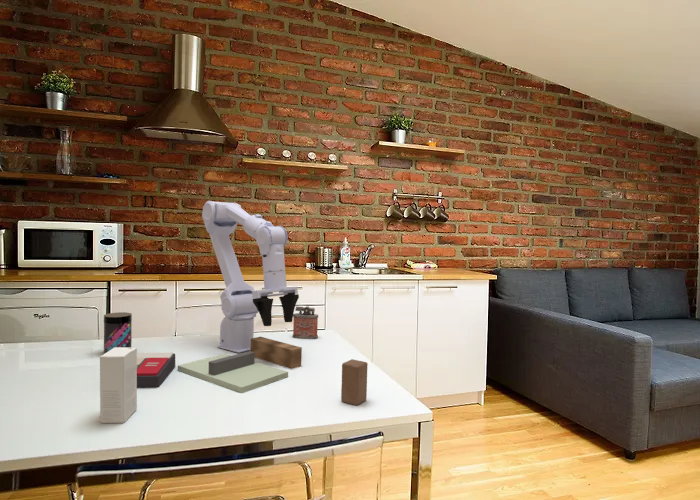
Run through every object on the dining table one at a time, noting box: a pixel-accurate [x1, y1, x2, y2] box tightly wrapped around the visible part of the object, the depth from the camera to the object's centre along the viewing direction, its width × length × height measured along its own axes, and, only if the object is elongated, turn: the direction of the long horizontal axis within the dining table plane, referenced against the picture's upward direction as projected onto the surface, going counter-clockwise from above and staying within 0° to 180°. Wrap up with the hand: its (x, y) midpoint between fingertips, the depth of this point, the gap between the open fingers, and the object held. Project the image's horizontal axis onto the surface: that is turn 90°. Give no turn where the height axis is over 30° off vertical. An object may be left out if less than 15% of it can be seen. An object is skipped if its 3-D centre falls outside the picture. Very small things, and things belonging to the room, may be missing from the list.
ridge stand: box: [177, 350, 289, 394], centre depth 109 cm, size 23×14×4 cm, turn 54°
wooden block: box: [340, 359, 369, 406], centre depth 94 cm, size 4×4×8 cm
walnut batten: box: [249, 336, 303, 370], centre depth 120 cm, size 16×3×5 cm, turn 51°
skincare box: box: [99, 347, 138, 424], centre depth 83 cm, size 6×4×12 cm
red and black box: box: [137, 352, 176, 389], centre depth 105 cm, size 11×4×15 cm
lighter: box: [292, 305, 319, 340], centre depth 146 cm, size 8×3×10 cm, turn 84°
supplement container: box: [103, 311, 133, 354], centre depth 123 cm, size 7×7×10 cm
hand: (278, 323), depth 119 cm, fingers open, 7 cm apart
